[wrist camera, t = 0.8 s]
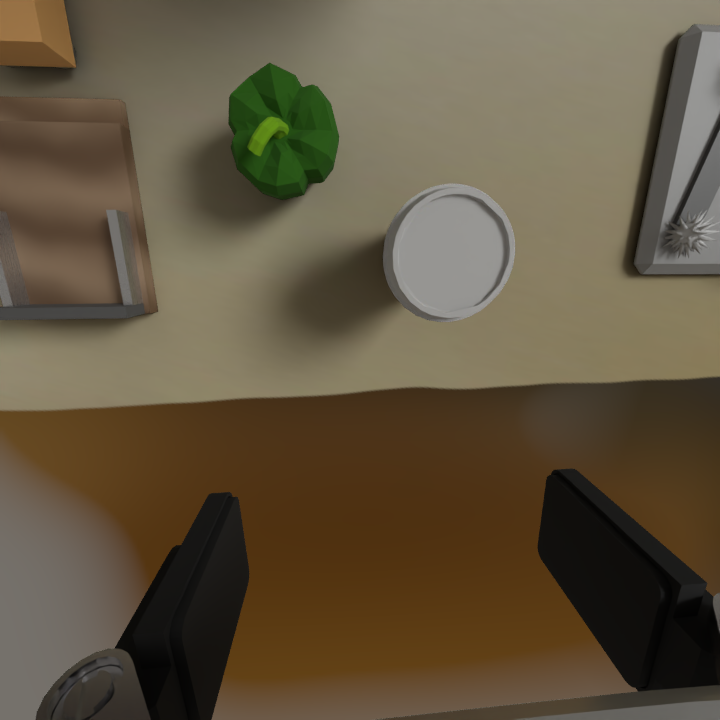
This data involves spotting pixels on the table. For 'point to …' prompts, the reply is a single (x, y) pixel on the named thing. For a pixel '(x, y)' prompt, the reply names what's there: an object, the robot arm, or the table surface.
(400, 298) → the disposable coffee cup
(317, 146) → the bell pepper
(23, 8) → the orange block
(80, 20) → the table surface
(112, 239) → the loading dock
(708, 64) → the decorative plate
